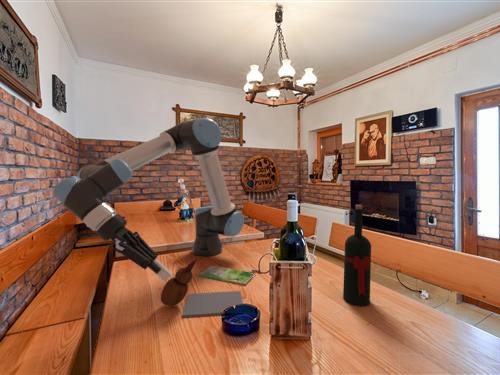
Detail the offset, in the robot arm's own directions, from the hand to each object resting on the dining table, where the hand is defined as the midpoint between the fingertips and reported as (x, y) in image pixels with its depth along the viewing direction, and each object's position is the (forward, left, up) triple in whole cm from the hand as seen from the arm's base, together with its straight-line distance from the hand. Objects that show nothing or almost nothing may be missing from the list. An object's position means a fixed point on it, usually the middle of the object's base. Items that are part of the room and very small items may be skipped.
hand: (168, 277), depth 71 cm
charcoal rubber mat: (-11, +8, -9) cm, 16 cm away
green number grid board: (-27, -5, -10) cm, 29 cm away
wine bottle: (-44, +37, -9) cm, 58 cm away
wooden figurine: (0, 0, -8) cm, 8 cm away
